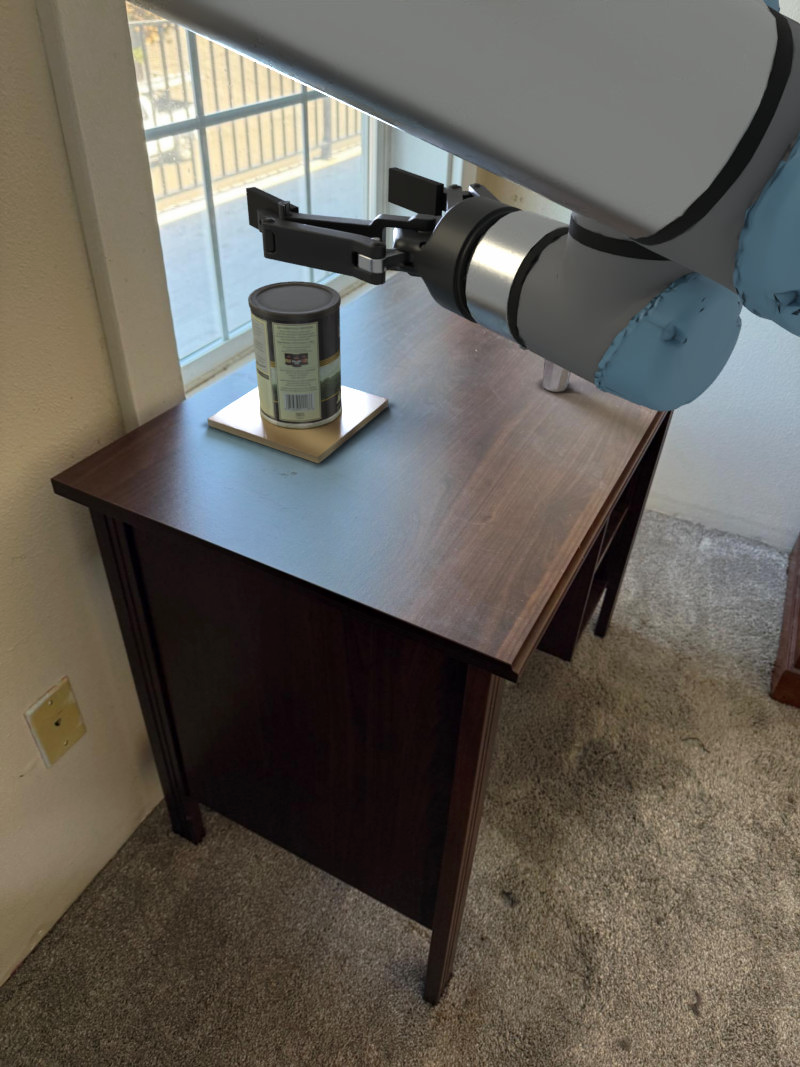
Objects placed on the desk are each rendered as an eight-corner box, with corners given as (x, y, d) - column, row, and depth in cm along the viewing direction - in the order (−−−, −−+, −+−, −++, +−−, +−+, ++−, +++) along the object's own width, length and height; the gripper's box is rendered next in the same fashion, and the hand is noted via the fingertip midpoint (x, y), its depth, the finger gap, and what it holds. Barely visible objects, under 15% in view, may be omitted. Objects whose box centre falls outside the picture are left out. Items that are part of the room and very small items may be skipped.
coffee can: (319, 382, 98) (316, 275, 89) (357, 417, 91) (357, 304, 82) (245, 399, 93) (233, 288, 85) (279, 437, 86) (270, 320, 78)
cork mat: (318, 464, 84) (318, 456, 84) (208, 425, 90) (206, 418, 89) (388, 406, 95) (388, 399, 95) (285, 375, 101) (285, 368, 100)
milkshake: (578, 382, 102) (592, 312, 96) (563, 397, 99) (577, 325, 93) (548, 373, 104) (560, 304, 98) (532, 388, 101) (543, 316, 94)
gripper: (343, 370, 45) (190, 267, 58) (616, 290, 57) (439, 220, 70) (341, 241, 40) (175, 161, 53) (639, 184, 52) (444, 130, 65)
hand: (325, 194), depth 61 cm, fingers open, 13 cm apart
